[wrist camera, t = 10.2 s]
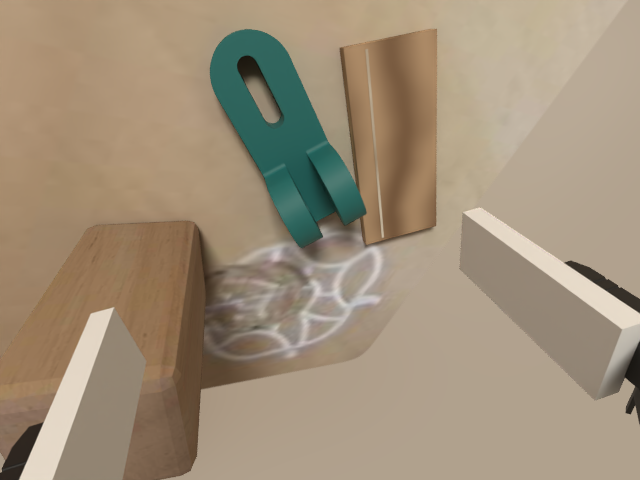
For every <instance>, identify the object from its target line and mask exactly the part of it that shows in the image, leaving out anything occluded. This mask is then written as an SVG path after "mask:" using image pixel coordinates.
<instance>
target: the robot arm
mask: <svg viewBox="0 0 640 480" xmlns="http://www.w3.org/2000/svg"><path fill="white" fill-rule="evenodd" d="M460 270H461V271H462V272H463V273H464V274H465V275H466V276H467V277H469V279H470V280H471V281H472V282H473V283H475V284H476V285H477V286H478V287H479V288H480V289H481V290H482V291H483V292H484V293H485V294H486V295H487V296H488V297H489V298H490V299H491V300H492V301H493V302H494V303H495V304H496V305H497V306H498V307H499V308H500V309H501V310H502V311H503V312H504V313H506V314H507V316H509V318H511V319H512V320H513V321H514V322H515V323H516V324H517V325H518V326H519V327H520V328H521V329H522V330H523V331H524V332H525V333H526V334H527V335H528V336H529V337H530V338H531V339H532V340H533V341H534V342H535V343H536V344H537V345H538V346H539V347H540V348H541V349H542V350H543V351H545V353H547V354H548V355H549V356H550V357H551V358H552V359H553V360H554V361H555V362H556V363H557V364H558V365H559V366H560V367H561V368H562V369H563V370H564V371H565V372H566V373H567V374H568V375H569V376H570V377H571V378H572V379H573V380H574V381H575V382H576V383H577V384H578V385H579V386H580V387H582V388H583V389H584V390H585V391H586V392H587V393H588V394H589V395H590V396H591V397H592V398H593V399H594V400H598V399H601V398H604V397H606V396H609V395H612V394H614V393H617V392H619V390H620V388H621V385H622V383H623V381H624V378H627V379H628V380H629V381H630V382H631V383H632V384H633V385H635V388H634V391H633V393H632V395H631V397H630V399H629V401H628V404H627V406H626V413H628V414H631V412H632V410H633V408H634V406H635V405H636V410H637V414H638V419H639V424H640V299H639V298H637V297H635V296H634V295H632V294H631V293H629V292H628V291H626V290H624V289H623V288H619V287H618V285H617V284H615V283H613V282H612V281H610V280H609V279H608V280H606V279H605V277H604V276H602V275H601V274H599V273H598V272H596V271H594V270H593V269H591V268H590V267H587V266H584V265H581V264H578V263H576V262H573V261H568V262H565V263H563V262H562V261H560V260H558V259H557V258H556V257H554V256H553V255H551V254H549V253H548V252H547V251H545V250H543V249H542V248H541V247H539V246H538V245H536V244H535V243H533V242H532V241H530V240H528V239H527V238H526V237H524V236H523V235H521V234H520V233H518V232H517V231H515V230H514V229H512V228H511V227H509V226H508V225H506V224H505V223H503V222H502V221H500V220H499V219H497V218H496V217H494V216H493V215H491V214H489V213H488V212H486V211H485V210H484V209H482V208H481V207H480V208H477V209H473V210H469V211H466V212H463V215H462V234H461V253H460ZM145 366H146V360H145V358H144V356H143V355H142V353H141V351H140V350H139V348H138V346H137V345H136V343H135V341H134V340H133V338H132V336H131V335H130V333H129V331H128V330H127V328H126V326H125V325H124V323H123V321H122V320H121V318H120V316H119V315H118V313H117V311H116V309H115V308H114V307H113V308H110V309H106V310H102V311H99V312H95V313H91V314H90V317H89V319H88V321H87V324H86V326H85V328H84V331H83V333H82V335H81V338H80V340H79V342H78V345H77V347H76V349H75V352H74V354H73V356H72V359H71V361H70V363H69V365H68V368H67V370H66V372H65V375H64V377H63V379H62V382H61V384H60V386H59V389H58V391H57V393H56V396H55V398H54V400H53V403H52V405H51V407H50V410H49V412H48V414H47V416H46V419H45V421H44V422H42V423H39V424H36V425H33V426H29V427H28V428H27V430H26V431H25V432H24V433H23V434H22V436H21V437H20V438H19V439H18V441H17V442H16V443H15V444H14V446H13V447H12V448H11V450H10V453H9V455H8V457H7V459H6V461H5V463H4V465H3V467H2V472H1V473H0V480H122V479H123V475H124V470H125V465H126V460H127V455H128V450H129V445H130V440H131V435H132V430H133V425H134V420H135V415H136V410H137V405H138V400H139V395H140V390H141V385H142V380H143V375H144V371H145Z"/></svg>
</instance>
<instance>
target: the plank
mask: <svg viewBox="0 0 640 480" xmlns="http://www.w3.org/2000/svg"><path fill="white" fill-rule="evenodd" d="M340 54H341V62H342V70H343V79H344V87H345V95H346V104H347V112H348V120H349V129H350V137H351V145H352V154H353V162H354V170H355V178H356V186H357V188H358V191H359V193H360V195H361V197H362V200H363V202H364V205H365V208H366V211H367V214H366V215H364V216H362V217H360V220H361V228H362V237H363V241H364V242H365V244H366V245H367V244H371V243H375V242H378V241H382V240H386V239H389V238H393V237H397V236H401V235H404V234H408V233H412V232H415V231H419V230H423V229H427V228H430V227H434V226H436V116H437V29H428V30H423V31H418V32H414V33H409V34H404V35H399V36H394V37H389V38H385V39H380V40H375V41H370V42H365V43H360V44H356V45H351V46H346V47H341V48H340Z"/></svg>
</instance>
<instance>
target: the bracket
mask: <svg viewBox="0 0 640 480" xmlns="http://www.w3.org/2000/svg"><path fill="white" fill-rule="evenodd" d="M246 55H248V56H251V57H253V58H254V59H255V61H256V63H257V65H258V67H259V69H260V71H261V73H262V75H263V77H264V79H265V81H266V83H267V85H268V87H269V89H270V91H271V93H272V95H273V97H274V99H275V101H276V103H277V105H278V107H279V108H280V111H281V117H280V119H279V121H278V122H276V123H268V122H266V121H265V120H264V118H263V116H262V114H261V112H260V110H259V109H258V107H257V105H256V103H255V101H254V99H253V97H252V96H251V94H250V92H249V90H248V88H247V86H246V84H245V83H244V81H243V79H242V77H241V75H240V73H239V71H238V70H237V63H238V60H239V59H240V58H241V57H243V56H246ZM210 79H211V84H212V87H213V90H214V92H215V94H216V96H217V98H218V100H219V102H220V103H221V105H222V107H223V108H224V110H225V112H226V113H227V115H228V117H229V118H230V120H231V122H232V124H233V125H234V127H235V129H236V130H237V132H238V134H239V135H240V137H241V139H242V140H243V142H244V144H245V145H246V147H247V149H248V151H249V152H250V154H251V156H252V157H253V159H254V161H255V162H256V164H257V166H258V167H259V169H260V171H261V173H262V174H263V176H264V178H265V181H266V185H267V188H268V191H269V193H270V196H271V198H272V200H273V202H274V204H275V206H276V208H277V210H278V212H279V214H280V216H281V218H282V220H283V221H284V223H285V225H286V227H287V228H288V230H289V232H290V234H291V235H292V237H293V238H294V240H295V241H296V243H297V244H298V246H299V247H300V248H303V247H305V246H307V245H309V244H311V243H313V242H315V241H316V240H318V239H320V238H322V237H323V235H322V233H321V231H320V229H319V227H318V225H317V223H316V222H317V221H318V220H320V219H322V218H324V217H326V216H328V215H330V214H332V213H334V212H335V211H336V213H337V215H338V216H339V218H340V220H341V221H342V223H343V224H344V226H345V225H347V224H349V223H351V222H352V221H354V220H356V219H358V218H360V217H362V216H364V215H366V214H367V211H366V208H365V205H364V202H363V200H362V197H361V195H360V193H359V191H358V188H357V186H356V184H355V182H354V180H353V178H352V176H351V174H350V173H349V171H348V169H347V167H346V165H345V164H344V162H343V160H342V159H341V157H340V156H339V154H338V153H337V152H336V150H335V149H334V148H333V147H332V146H331V145H330V144H329V142H328V140H327V138H326V136H325V134H324V131H323V129H322V127H321V125H320V123H319V120H318V118H317V116H316V114H315V111H314V109H313V107H312V105H311V103H310V100H309V98H308V96H307V94H306V92H305V89H304V87H303V85H302V83H301V80H300V78H299V76H298V74H297V72H296V69H295V67H294V65H293V63H292V61H291V58H290V56H289V54H288V52H287V51H286V49H285V48H284V47H283V45H282V44H281V43H280V42H279V41H278V40H276V39H275V38H274V37H272V36H271V35H269V34H267V33H265V32H262V31H258V30H251V29H245V30H239V31H236V32H233V33H231V34H229V35H228V36H226V37H225V38H224V39H223V40H222V41H221V42H220V43H219V44H218V46H217V48H216V49H215V51H214V54H213V57H212V60H211V65H210Z"/></svg>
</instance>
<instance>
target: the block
mask: <svg viewBox="0 0 640 480" xmlns="http://www.w3.org/2000/svg"><path fill="white" fill-rule="evenodd" d="M205 305H206V290H205V281H204V273H203V264H202V256H201V247H200V238H199V230H198V228H197V227H196V225H195V224H194V222H190V221H174V222H153V223H132V224H112V225H96V226H93V227H91V228H88V229H87V230H86V232H85V233H84V235H83V236H82V238H81V239H80V241H79V242H78V244H77V245H76V247H75V248H74V250H73V251H72V253H71V254H70V256H69V257H68V259H67V260H66V262H65V263H64V265H63V266H62V268H61V269H60V271H59V272H58V274H57V275H56V277H55V278H54V280H53V281H52V283H51V284H50V286H49V287H48V289H47V290H46V292H45V293H44V295H43V296H42V298H41V299H40V301H39V302H38V304H37V305H36V307H35V308H34V310H33V311H32V313H31V314H30V316H29V317H28V319H27V321H26V322H25V324H24V325H23V327H22V328H21V330H20V331H19V333H18V334H17V336H16V337H15V339H14V340H13V342H12V343H11V345H10V346H9V348H8V349H7V351H6V352H5V354H4V355H3V357H2V358H1V360H0V453H1V454H2V456H3V457H4V459H5V461H6V459H7V457H8V455H9V453H10V450H11V448H12V447H13V446H14V444H15V443H16V442H17V441H18V439H19V438H20V437H21V436H22V434H23V433H24V432H25V431H26V430H27V428H28V427H29V426H33V425H36V424H39V423H42V422H44V421H45V419H46V416H47V414H48V412H49V410H50V407H51V405H52V403H53V400H54V398H55V396H56V393H57V391H58V389H59V386H60V384H61V382H62V379H63V377H64V375H65V372H66V370H67V368H68V365H69V363H70V361H71V359H72V356H73V354H74V352H75V349H76V347H77V345H78V342H79V340H80V338H81V335H82V333H83V331H84V328H85V326H86V324H87V321H88V319H89V317H90V314H91V313H95V312H99V311H102V310H106V309H110V308H113V307H114V308H115V309H116V311H117V313H118V315H119V316H120V318H121V320H122V321H123V323H124V325H125V326H126V328H127V330H128V331H129V333H130V335H131V336H132V338H133V340H134V341H135V343H136V345H137V346H138V348H139V350H140V351H141V353H142V355H143V356H144V358H145V360H146V366H145V371H144V375H143V380H142V385H141V390H140V395H139V400H138V405H137V410H136V415H135V420H134V425H133V430H132V435H131V440H130V445H129V450H128V455H127V460H126V465H125V470H124V475H123V479H122V480H160V479H166V478H171V477H176V476H181V475H183V474H185V473H187V472H189V471H191V468H192V466H193V463H194V461H195V459H196V457H197V445H198V444H197V443H198V427H199V410H200V392H201V375H202V357H203V340H204V322H205Z"/></svg>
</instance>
